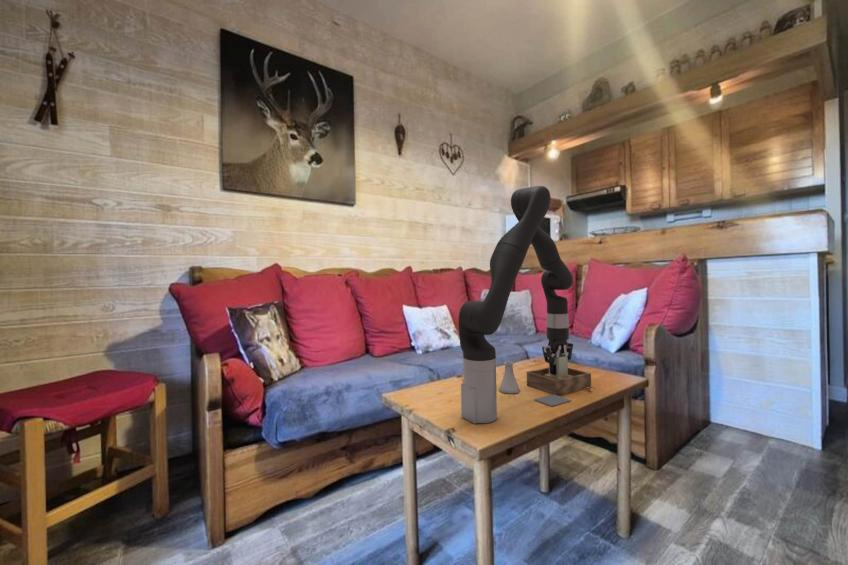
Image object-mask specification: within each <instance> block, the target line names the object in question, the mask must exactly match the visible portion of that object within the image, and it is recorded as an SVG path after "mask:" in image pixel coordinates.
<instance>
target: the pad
mask: <svg viewBox="0 0 848 565" xmlns="http://www.w3.org/2000/svg"><path fill="white" fill-rule="evenodd" d="M534 401H535V402H538V403H540V404H543V405H545V406H548V407H551V408H553V407H557V406H559V405H560V406H561V405H564V404H568V403H571V402H572V399H569V398H566V397H563V396H562V395H561V396H558V395H555V394H550V395H543V396H542V397H538V398H534ZM570 401H571V402H570ZM567 402H568V403H567Z"/></svg>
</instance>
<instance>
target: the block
mask: <svg viewBox="0 0 848 565" xmlns="http://www.w3.org/2000/svg"><path fill="white" fill-rule="evenodd" d="M552 360H554V357H552ZM556 360H557V362H556V373H557V374H556V375H553V374H551V373H550V364H549V363H548V367H549V375H551V376H555V377H558V378H561V377H565V376H568V368H569V367H568V364H569V362H568V361H569V360H568V355H567V356H562V355H559V357H558V358H557V359H556Z"/></svg>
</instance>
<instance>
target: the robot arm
mask: <svg viewBox="0 0 848 565" xmlns="http://www.w3.org/2000/svg"><path fill="white" fill-rule="evenodd" d="M550 205H551V193H550V190H549V189H548V187H546V186H544V185H534V186H529V187H524V188H518V189H516V190H515V191H514V192H512V195H511V197H510V207H511V210H512V212H513V215H514V216H515V218H516V219H517V221H518V222H517V223H516V224H515V225H514V226H512V227H511V228H510V229H508V231H507V232H506V233H504V235H502V237H500V239H499V240H498V242H497V243H496V245H495V247H494V250H493V252H492V254H491V257H490V259H489V271H490V277H491V278H490V279H491V281H490V282H491V283H490V288H489V289H488V292H487V295H486V296H485V298H484V300H481V301H480V300H469V301H465V302H464V303H463V304H462V305H461V307H460V309H459V313H458V332H459V333H458V334H459V336H458V337H459V345H460V348H461V351H462V360H463V362H462V363H463V365H462V366H463V368H462V369H463V383H461V384H460V401H461V402H460V404H461V409H460V410H461V418H463V419H465V420H466V421H468V422H470V423H471V424H474V425H475V424H489V423H493V422H494V421H496V420H497V419H498V409H497V408H498V406H497V404H498V403H497V402H498V401H497V400H498V399H497V358H496V356H497V354H496V353H497V350H496V348H495V346H493V345H492V344H491V343H490V342H489V341H488V340H487V339H486V337H485V336H490V335H493V334H494V333H496V332H497V331H498V330H499V328H500V325H501V324H502V322H503V317H504V315H505V314H504V313H505V311H506V307H507V304H508V300H509V297H510V294H511V293H512V289H513V287H514V284H515V282H516V280H517V277H518V274H519V271H520V270H521V267H522V266H523V263H524V261H525V259H526V256H527V254H528V250H529V248H530V246H532V248H533V250H534V252H535V255H536V258H537V260H538V263H539V266H540V267H541V269H543V270H545V271H544V272H543V273H542V275H541V278H540V283H541V287H542V289H543V293H544V297H545V301H546V339H547V340H548V344H547V345H546V346H542V347H541V349H542V354H543V360H544V361H545V363H547V364H548V365H549V364H550V373H551V374H553V375H556V374H557V373H556V362H557V360H556V359H557V358H558V357H559V355H562V356H568V361H570V360H571V359H572V354H573V348H574V343H571V342H568V341H567V340H569V339H570V322H569V320H570V319H569V306H568V305H569V304H568V299H567V298H566V297H565V296H561V295H558V294H557V293H556V291H567V290H569V289H571V287H572V285H573V282H574V279H573V278H574V277H573V275H572V272H571V271H570V270H569V268H568V266H567V265H566V264H565V263H564V261H563V259H562V258H561V256H560V253H559V250H558V247H557V245H556V243H555V241H554V240H553V238H552V237H551V236H550V235H549V234H548V233H547V232H546V231H544V229H543V228H541V226H540V225H541V224H542V222H543V220H544V219H545V216H546V215H547V214H548V211H549V208H550ZM552 357H554V360H552Z"/></svg>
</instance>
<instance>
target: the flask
mask: <svg viewBox="0 0 848 565" xmlns="http://www.w3.org/2000/svg"><path fill="white" fill-rule="evenodd" d="M503 364H504V371H503V372H504V373H503V376H502V380H501V383H500V385H499V389H498V391H500V393H502V394H519V393H520V391H521V390H520V387H519V385H518V382H517V379H516V377H515V373H514V366H513V365H514V362H513V361H504V362H503Z"/></svg>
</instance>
